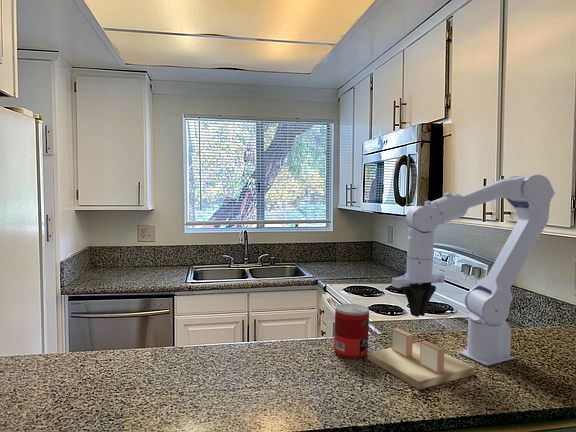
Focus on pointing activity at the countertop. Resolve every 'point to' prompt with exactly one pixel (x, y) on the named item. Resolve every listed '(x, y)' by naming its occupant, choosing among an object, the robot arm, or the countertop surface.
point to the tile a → (402, 342)
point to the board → (419, 367)
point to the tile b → (432, 357)
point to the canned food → (351, 331)
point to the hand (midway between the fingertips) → (417, 315)
